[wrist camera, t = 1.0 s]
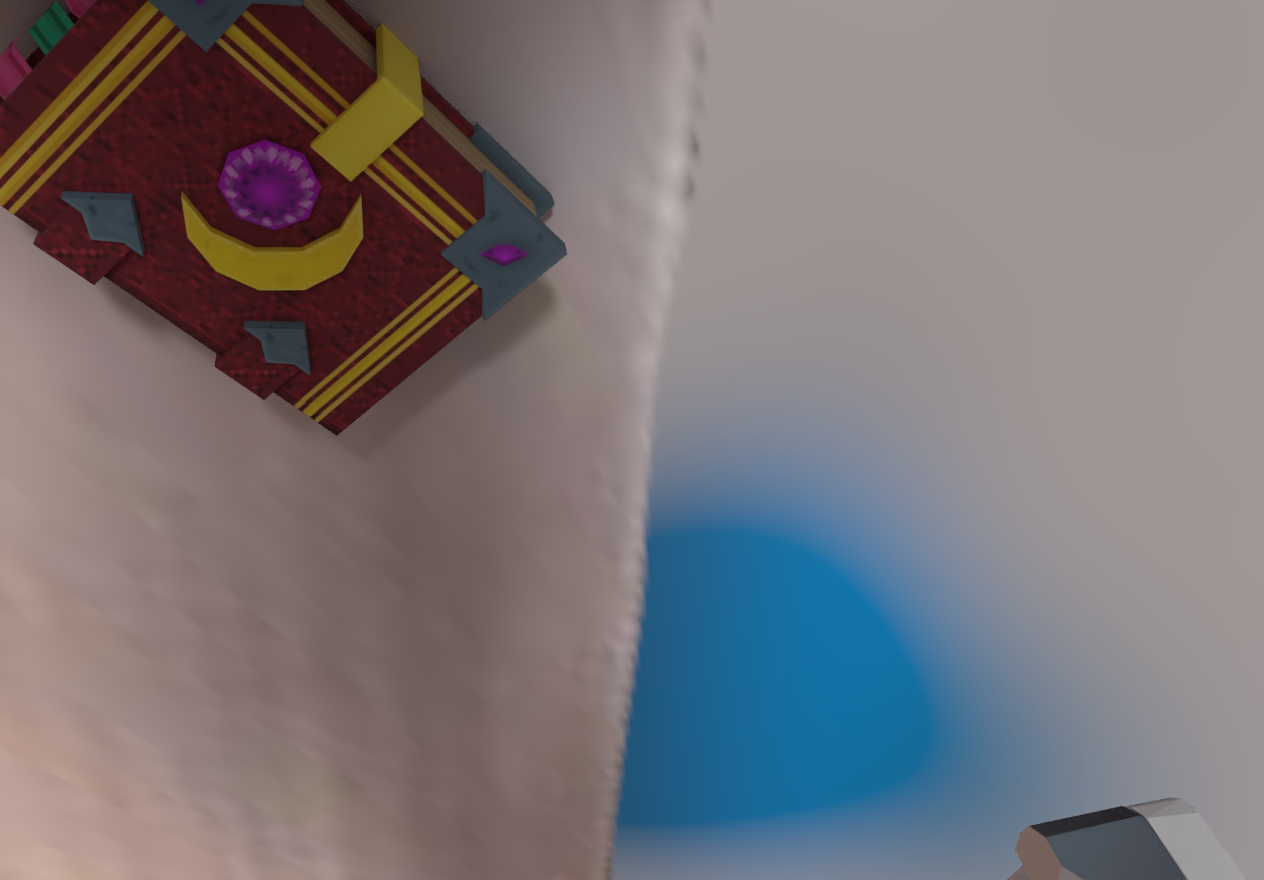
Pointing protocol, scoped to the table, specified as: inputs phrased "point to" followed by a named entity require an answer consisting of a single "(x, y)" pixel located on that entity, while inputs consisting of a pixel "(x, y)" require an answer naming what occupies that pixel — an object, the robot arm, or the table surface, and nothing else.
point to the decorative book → (268, 188)
